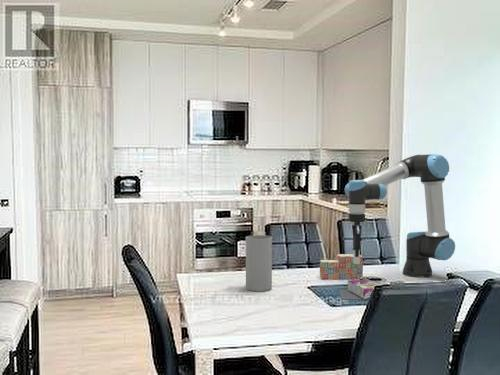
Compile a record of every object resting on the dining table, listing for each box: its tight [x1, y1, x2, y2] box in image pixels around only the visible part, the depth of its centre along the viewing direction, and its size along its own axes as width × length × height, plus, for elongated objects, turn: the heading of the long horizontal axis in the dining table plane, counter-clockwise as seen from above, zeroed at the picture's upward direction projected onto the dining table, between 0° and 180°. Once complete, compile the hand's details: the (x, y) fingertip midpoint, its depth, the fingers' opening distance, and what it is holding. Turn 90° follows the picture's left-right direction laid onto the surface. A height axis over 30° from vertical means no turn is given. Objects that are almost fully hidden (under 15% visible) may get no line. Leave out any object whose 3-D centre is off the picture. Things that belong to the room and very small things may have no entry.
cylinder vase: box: [245, 234, 273, 293], centre depth 245 cm, size 12×12×25 cm
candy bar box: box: [347, 278, 380, 299], centre depth 233 cm, size 11×5×16 cm
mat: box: [338, 289, 370, 301], centre depth 233 cm, size 16×16×1 cm
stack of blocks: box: [319, 253, 364, 281], centre depth 267 cm, size 21×6×12 cm, turn 91°
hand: (356, 263), depth 238 cm, fingers closed
